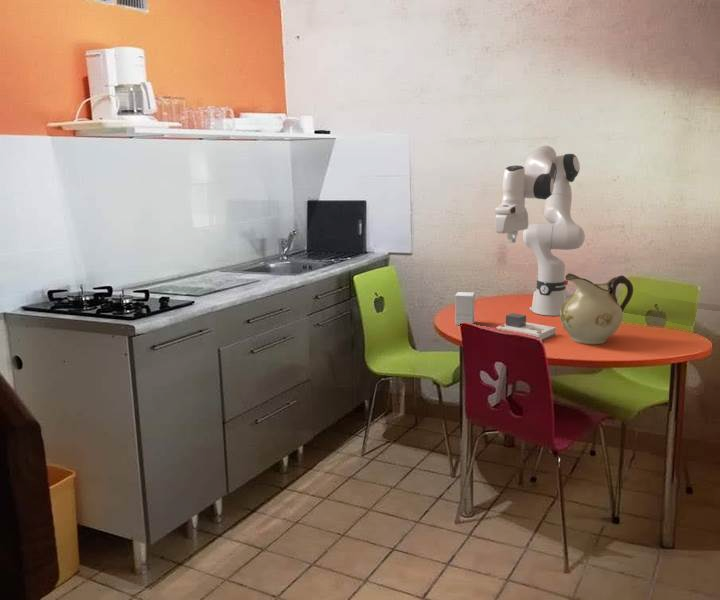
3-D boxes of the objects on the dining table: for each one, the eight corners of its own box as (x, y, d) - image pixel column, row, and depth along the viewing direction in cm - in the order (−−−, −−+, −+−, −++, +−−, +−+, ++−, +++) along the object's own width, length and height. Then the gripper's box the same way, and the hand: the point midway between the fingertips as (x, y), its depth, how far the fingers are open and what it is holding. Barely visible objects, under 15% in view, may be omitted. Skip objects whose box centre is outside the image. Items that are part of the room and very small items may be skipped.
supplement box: (474, 321, 296) (475, 292, 293) (472, 326, 289) (473, 295, 286) (456, 320, 297) (457, 291, 295) (454, 325, 290) (455, 295, 288)
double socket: (513, 327, 286) (514, 319, 285) (555, 334, 274) (555, 326, 274) (496, 334, 276) (496, 325, 275) (538, 342, 264) (538, 333, 263)
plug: (511, 327, 281) (512, 313, 280) (525, 330, 278) (526, 315, 276) (505, 330, 278) (506, 315, 276) (519, 332, 274) (519, 317, 273)
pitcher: (547, 340, 266) (551, 275, 261) (575, 328, 283) (580, 267, 278) (604, 352, 251) (610, 283, 246) (631, 339, 268) (637, 274, 263)
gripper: (519, 205, 288) (517, 239, 291) (492, 209, 273) (491, 244, 276) (533, 206, 284) (531, 240, 287) (507, 210, 269) (506, 246, 272)
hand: (511, 242), depth 281 cm, fingers closed
